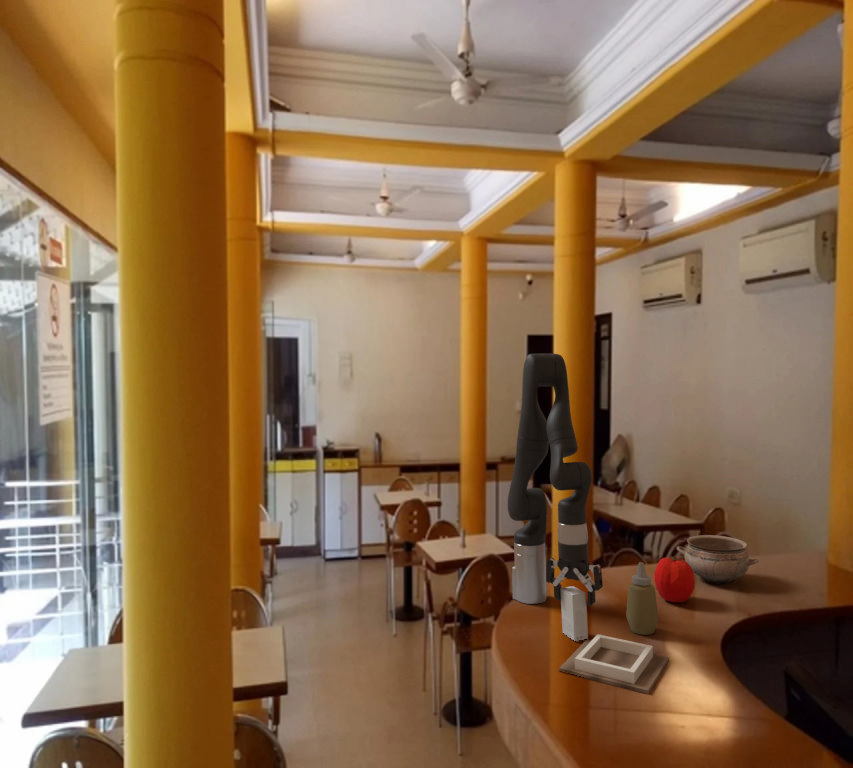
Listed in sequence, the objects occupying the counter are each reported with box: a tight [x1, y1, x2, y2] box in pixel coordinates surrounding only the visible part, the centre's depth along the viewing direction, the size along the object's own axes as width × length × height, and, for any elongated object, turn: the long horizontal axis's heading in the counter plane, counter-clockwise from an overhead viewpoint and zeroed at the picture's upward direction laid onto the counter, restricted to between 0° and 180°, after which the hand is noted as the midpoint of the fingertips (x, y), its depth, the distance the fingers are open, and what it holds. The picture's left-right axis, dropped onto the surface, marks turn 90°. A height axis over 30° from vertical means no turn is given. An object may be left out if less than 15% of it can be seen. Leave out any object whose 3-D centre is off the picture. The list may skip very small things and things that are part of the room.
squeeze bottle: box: [625, 561, 660, 636], centre depth 169 cm, size 8×8×18 cm
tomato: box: [653, 555, 696, 603], centre depth 190 cm, size 12×12×13 cm
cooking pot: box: [676, 534, 760, 585], centre depth 207 cm, size 25×19×12 cm
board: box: [558, 639, 670, 695], centre depth 150 cm, size 20×18×1 cm
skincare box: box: [560, 585, 589, 642], centre depth 167 cm, size 6×4×12 cm
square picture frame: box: [575, 633, 654, 684], centre depth 150 cm, size 13×15×2 cm
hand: (574, 602), depth 167 cm, fingers open, 8 cm apart
